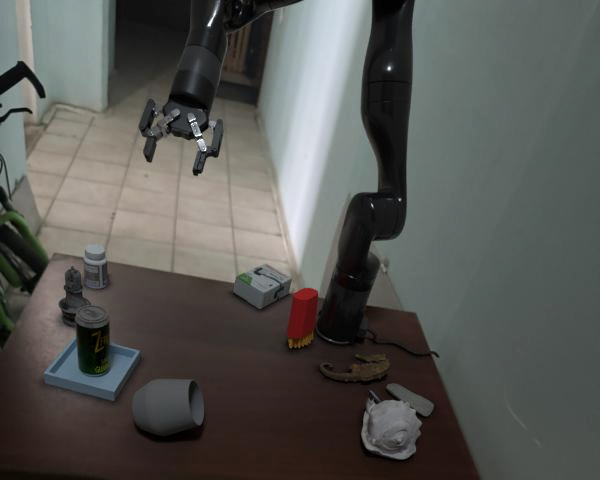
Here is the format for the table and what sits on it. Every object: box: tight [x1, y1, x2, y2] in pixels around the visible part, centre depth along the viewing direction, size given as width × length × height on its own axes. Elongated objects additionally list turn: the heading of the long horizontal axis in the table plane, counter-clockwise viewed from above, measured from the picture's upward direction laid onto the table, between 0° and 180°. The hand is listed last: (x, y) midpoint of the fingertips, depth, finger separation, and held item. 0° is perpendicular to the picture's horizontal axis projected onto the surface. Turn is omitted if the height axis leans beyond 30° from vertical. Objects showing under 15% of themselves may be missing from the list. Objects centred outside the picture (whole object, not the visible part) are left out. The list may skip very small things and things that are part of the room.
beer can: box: [75, 304, 111, 377], centre depth 90 cm, size 5×5×12 cm
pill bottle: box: [82, 243, 109, 290], centre depth 111 cm, size 5×5×8 cm
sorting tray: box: [43, 334, 141, 402], centre depth 93 cm, size 12×12×2 cm
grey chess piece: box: [58, 265, 92, 328], centre depth 99 cm, size 6×6×12 cm
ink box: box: [232, 263, 293, 310], centre depth 125 cm, size 9×5×12 cm
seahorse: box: [318, 352, 392, 384], centre depth 111 cm, size 9×16×3 cm, turn 123°
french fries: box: [286, 287, 319, 349], centre depth 112 cm, size 8×4×12 cm, turn 145°
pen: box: [368, 389, 383, 404], centre depth 104 cm, size 1×1×14 cm
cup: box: [131, 378, 205, 437], centre depth 85 cm, size 10×9×10 cm
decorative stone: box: [385, 382, 435, 417], centre depth 108 cm, size 11×1×5 cm
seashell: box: [360, 397, 423, 461], centre depth 95 cm, size 12×14×10 cm
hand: (171, 167), depth 92 cm, fingers open, 8 cm apart
